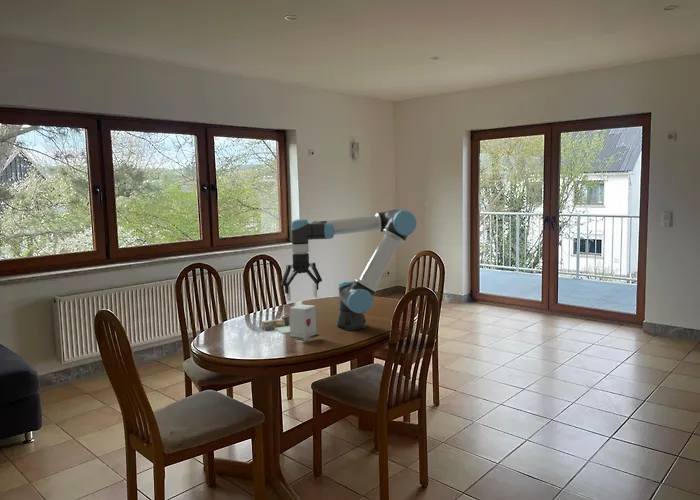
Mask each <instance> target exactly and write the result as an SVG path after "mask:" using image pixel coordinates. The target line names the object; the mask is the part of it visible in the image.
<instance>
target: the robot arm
mask: <svg viewBox="0 0 700 500" xmlns="http://www.w3.org/2000/svg"><path fill="white" fill-rule="evenodd" d="M416 227H417V219H416V216H415V215H414V213H412V212H411V211H410V210H407V209H391V210H390V209H389V210H387V211H382V212H376V213H375V214H373V215H366V216H356V217H348V218H347V217H345V218H338V219H329V220H320V221H317V220H315V221H311V222H310V223H309V222H308V219H303V218H299V219H293V220H292V221H291V229H290V230H291V246H292V247H291V250H292V264H286V265H285V267H286V268H285V271H284V274H283V276H282V279H281V281H280V286H283V287H284V293H285V294H286V300H287V301H289V302H291V301H292V300H291V299H292V298H291V286H290V284H291V283H292V281H294V279H295V277H296V276H297V275H298V274H305V273H306V275H307V276H309V279H311V280H312V295H313V296H312V297H313V298H318V290H319V284H320V283H321V282H322V281H323V279H322V277H321V275H320V272H319V271H318V268H317V265H316V262H314V261H311V262H310V254H309V250H310V249H309V247H310V246H309V241H310V240H331V239H333V238H334V237H335V236H339V235H347V234H355V233H364V232H366V233H367V232H372V231H373V232H374V231H377V233H383V236H382V238H381V240H380V241H379V242H378V245H377V247H376V248H375V250H374V252H373V254H372V255H371V257H370V258H369V260H368V262H367V264H366V266H365V268H364V270H363V271H362V273H361V275H360V276H359V278H355V279H354V280H348V281H340V282H339V283H338V302H339V304H338V305H339V306H338V307H339V313H338V316H337V319H336V325H335V326H336V328H338V329H339V330H344V331H356V330H362V329H363V330H364V328H365V329H366V327H367V319H366V316H365V315H364V313H366V312H368V311H369V310H370V309H371V307H372V306H373V302H374V299H373V298H374V296H375V294H376V293H377V290H376V286H377V284H378V283H379V281H380V279H381V278H382V276H383V274H384V272H385V270H386V269H387V266H388V265H389V264H390V261H391V260H392V258H393V256H394V254H395V253H396V251H397V250H398V247H399V246H400V244H402V243H405V241H406V240H407V238H408V236H409V235H411V234H413V233H414V231H415V230H416ZM309 268H311V269H312V271H311V270H310V269H309ZM292 269H293V270H292ZM291 270H292V271H291ZM312 272H313V273H312Z"/></svg>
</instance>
